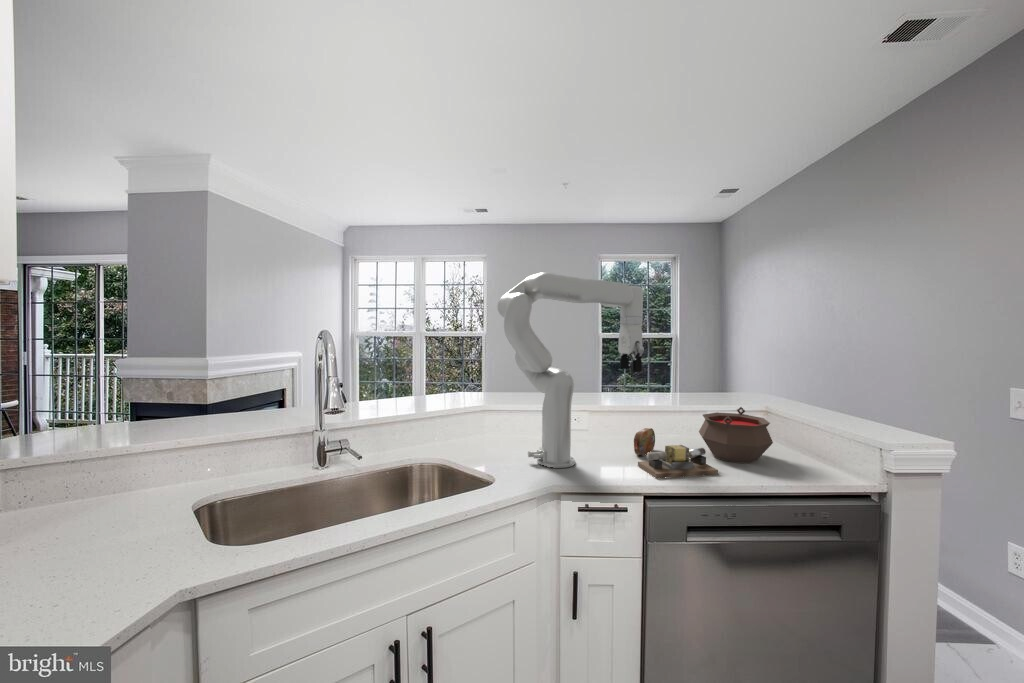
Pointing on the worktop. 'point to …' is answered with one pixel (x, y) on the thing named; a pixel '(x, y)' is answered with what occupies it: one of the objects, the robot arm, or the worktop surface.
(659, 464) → the rig
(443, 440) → the worktop surface
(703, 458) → the shaft
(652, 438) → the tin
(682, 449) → the coupler
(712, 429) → the brown cooking pot
